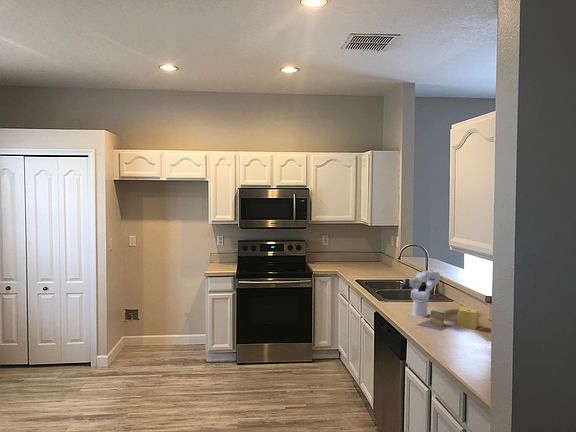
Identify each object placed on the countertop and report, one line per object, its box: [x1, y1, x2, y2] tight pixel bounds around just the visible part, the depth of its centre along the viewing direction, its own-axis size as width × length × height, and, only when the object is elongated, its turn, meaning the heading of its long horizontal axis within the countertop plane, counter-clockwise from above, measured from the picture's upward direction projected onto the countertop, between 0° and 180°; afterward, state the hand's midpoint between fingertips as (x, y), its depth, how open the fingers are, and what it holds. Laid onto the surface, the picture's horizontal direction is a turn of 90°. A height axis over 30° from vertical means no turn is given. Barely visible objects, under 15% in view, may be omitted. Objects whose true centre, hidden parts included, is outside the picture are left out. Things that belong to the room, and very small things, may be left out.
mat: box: [417, 319, 453, 332], centre depth 267 cm, size 16×14×1 cm
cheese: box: [456, 305, 480, 330], centre depth 269 cm, size 10×11×10 cm
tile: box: [429, 310, 445, 326], centre depth 269 cm, size 2×7×7 cm, turn 50°
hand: (412, 288), depth 269 cm, fingers open, 7 cm apart
